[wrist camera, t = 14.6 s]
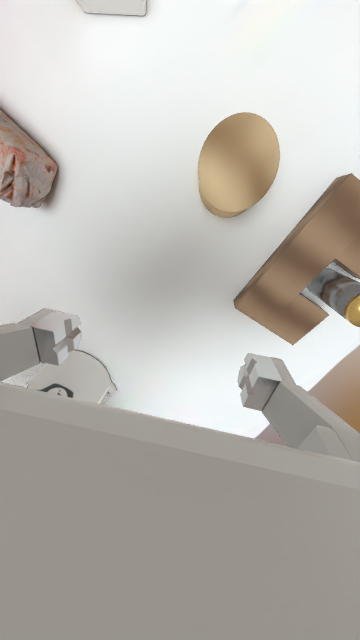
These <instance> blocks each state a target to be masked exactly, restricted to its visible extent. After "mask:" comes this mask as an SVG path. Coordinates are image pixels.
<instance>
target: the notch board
mask: <svg viewBox="0 0 360 640" xmlns="http://www.w3.org/2000/svg"><path fill="white" fill-rule="evenodd" d="M332 261H334V262H335V263H336V264H338V265H339V266H340V267H342V268H343V269H344V270H346V271H347V272H348V273H350V274H351V275H352V276H354V277H356V278H358V279H360V180H359V179H358V178H356V177H355V176H354V175H353V174H352V173H351V174H348V175H345V176H341V177H338V178H336V179H335V180H334V182H333V183H332V184H331V185H330V186H329V188H328V189H327V190H326V191H325V192H324V194H323V195H322V196H321V197H320V198H319V199H318V201H317V202H316V203H315V204H314V205H313V207H312V208H311V209H310V210H309V211H308V213H307V214H306V215H305V216H304V217H303V219H302V220H301V221H300V222H299V223H298V225H297V226H296V227H295V228H294V229H293V230H292V232H291V233H290V234H289V235H288V236H287V238H286V239H285V240H284V241H283V242H282V244H281V245H280V246H279V247H278V248H277V250H276V251H275V252H274V253H273V254H272V256H271V257H270V258H269V259H268V260H267V261H266V263H265V264H264V265H263V266H262V267H261V269H260V270H259V271H258V272H257V273H256V275H255V276H254V277H253V278H252V279H251V281H250V282H249V283H248V284H247V285H246V287H245V288H244V289H243V290H242V291H241V292H240V294H239V295H238V296H237V297H236V298H235V300H234V305H235V308H236V309H238V310H239V311H241V312H242V313H244V314H245V315H247V316H248V317H250V318H252V319H253V320H255V321H256V322H258V323H259V324H261V325H262V326H264V327H265V328H267V329H269V330H270V331H272V332H273V333H275V334H276V335H278V336H279V337H281V338H282V339H284V340H286V341H287V342H289V343H290V344H292V345H294V344H295V343H296V342H297V341H299V340H300V339H301V338H302V337H303V336H305V335H306V334H307V333H308V332H309V331H311V330H312V329H313V328H314V327H315V326H317V325H318V324H319V323H320V322H321V321H323V320H324V319H325V318H326V317H327V316H329V314H328V313H327V312H325V311H324V310H323V309H322V308H321V307H319V306H318V305H317V304H315V303H314V302H312V301H311V300H309V299H308V298H307V297H305V296H304V295H302V294H301V293H300V292H301V291H302V290H303V289H304V288H305V287H306V286H307V285H308V284H309V283H310V282H312V281H313V280H314V279H315V278H316V277H317V276H318V275H319V274H320V273H321V272H322V271H323V270H324V269H325V268H326V267H327V266H328V265H329V264H330V263H331V262H332Z"/></svg>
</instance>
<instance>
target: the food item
mask: <svg viewBox="0 0 360 640" xmlns="http://www.w3.org/2000/svg"><path fill="white" fill-rule="evenodd" d="M57 169H58V166H57V164H56V163H55V162H54V161H53V160H52V159H51V158H50V157H49V156H48V155H47V154H46V153H45V151H44V150H43V149H42V148H41V147H40V146H39V145H38V144H37V143H36V142H35V141H33V140H32V139H31V138H30V137H29V136H28V135H27V134H26V133H25V132H24V131H23V130H22V129H20V128H19V127H18V126H17V125H16V124H15V123H14V122H13V121H12V120H11V119H10V118H9V117H8V116H7V115H6V114H5V113H3V112H2V111H1V110H0V199H2V200H4V201H6V202H8V203H11V204H10V205H12V206H14V207H35V208H39V207H40V205H41V202H42V201H43V200H44V198H45V196H46V195H47V194H48V193H49V192H50V190H51V184H52V182H53V180H54V178H55V175H56V172H57Z"/></svg>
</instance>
